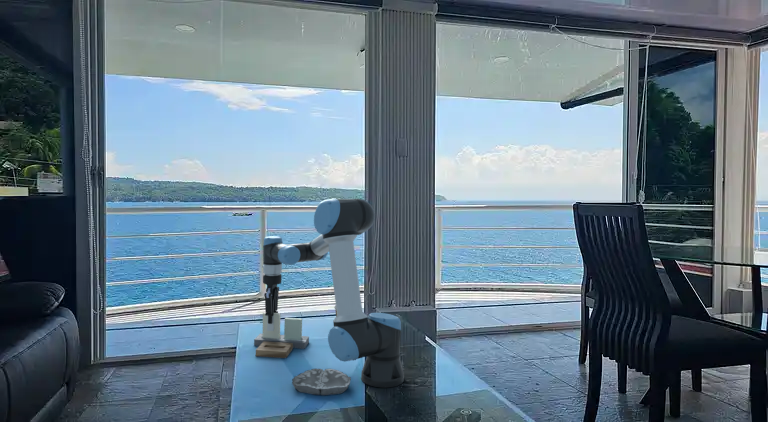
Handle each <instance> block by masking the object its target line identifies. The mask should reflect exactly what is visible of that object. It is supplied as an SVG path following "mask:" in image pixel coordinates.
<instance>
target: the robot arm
mask: <svg viewBox="0 0 768 422" xmlns="http://www.w3.org/2000/svg"><path fill="white" fill-rule="evenodd" d="M375 218H376V213H375V210H374V207H373V206H372V204H370V203H369V202H368V201H366V200H365V199H361V198H331V199H330V198H329V199H324V200H322V201H320V202H319V204H317V206H316V209H315V211H314V215H313V225H314V228H315V230H316V232H317V233H318V234H320V235H318V236H317V237H315V238H313V239H312V240H311V241H309V242H304V243H303V242H301V243H300V242H299V243H288V244H287V243H283V238H282V237H281V236H276V235H274V236H273V235H271V236H269V235H268V236H265V237H264V238H263V245H262V250H263V251H262V252H263V254H262V258H263V259H262V261H263V263H262V266H261V268H262V274H263V275H262V284H263V285H266V288H265V289H266V290H265V292H264V296H263V297H264V300H265V301H264V302H265V303H264V305H265V306H264V308H265V311H264V312H266V314H265V315H266V316H267V331H274V313H279V311H278V310H279V308H278V306H279V291H280V287H279V286H278V285H280V284H282V280H283V279H282V273H283V270H282V269H283V268H282V267H283V266H282V265H287V266H288V265H289V266H293V265H296V264H297V263H304V262H314V261H316V262H317V261H321V260H324V259H326V258H327V256H328V255H329V260H330V270H331V276H332V277H331V279H332V286H333V292H334V301H335V305H336V310H337V316H336V315H335V318H334V319H333V322H332V323H333V327H332V328H330V329H329V331H328V335H327V342H328V345H329V346H328V347H329V349H330V351H331V352H332V354H333V356H335V358H336V359H337V360H339V361H342V362H350V361H356V360H359V359H362V358H366V359H365V361H364V364H363V366H362V369H361V371H360V372H361V374H360V375H361V377H360V379H361V381H362V382H363V384H365V385H367V386H371V387H374V388H375V387H376V388H394V387H398V386H401V384H403V382H404V380H405V372H404V369H403V364H402V361H401V340H402V322H401V318H399V317H398V316H396V315H393V314H390V313H384V312H371V313H369V314H368V315H367V314H366V313H365V312H364V311H363V306H362V300H361V299H362V298H361V291H360V283H359V275H358V268H357V259H356V251H355V245H354V241H355V239H356V238H357V237H358V236H360V235H362V234H364V233H366V232H367V231H369V229H371V228H372V226H373V225H374V223H375ZM328 253H329V254H328Z"/></svg>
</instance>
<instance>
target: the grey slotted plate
mask: <svg viewBox="0 0 768 422" xmlns="http://www.w3.org/2000/svg"><path fill="white" fill-rule="evenodd" d="M262 334H263V332H262V333H261V332H260V333H259V334H258V335H257V336H256V337H254V339H253V345H254V346H256V347H259V346H260V345H261V344H262V343H263V342H264V341H265V342H281V343H293V349H300V350H301V349H303V350H304V349H306V347H307V346H308V344H309V343H310V336H308V335H307V336H304V335H302V340H292V339H284V334H280V339H276V338H262Z"/></svg>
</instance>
